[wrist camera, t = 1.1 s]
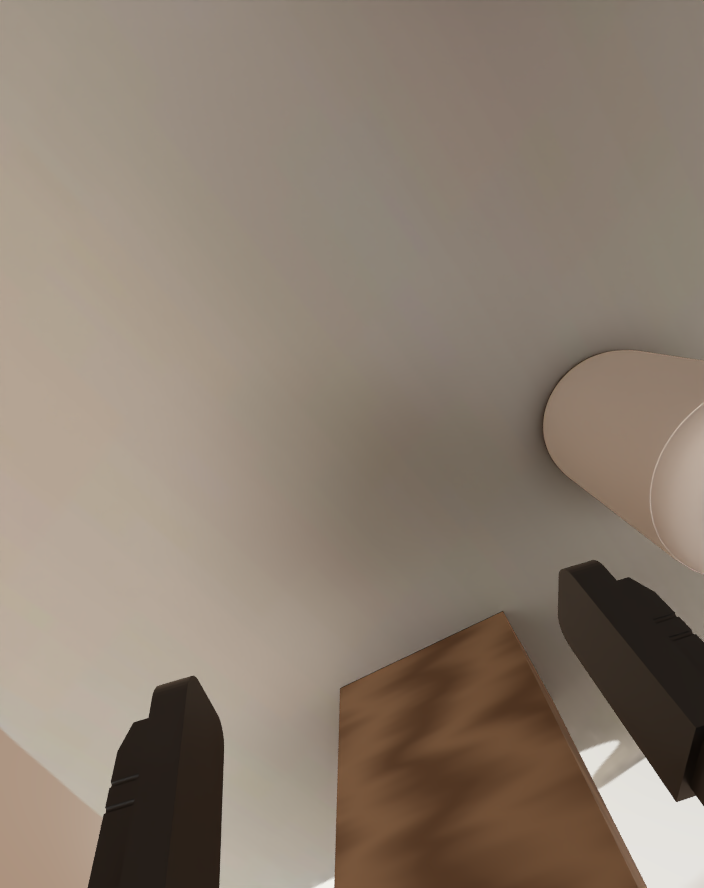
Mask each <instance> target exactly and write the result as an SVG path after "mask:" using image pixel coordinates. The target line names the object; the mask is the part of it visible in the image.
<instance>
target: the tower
mask: <svg viewBox="0 0 704 888" xmlns="http://www.w3.org/2000/svg"><path fill="white" fill-rule="evenodd" d="M334 888H647V887H646V885H645V883H644V881H643V879H642V877H641V875H640V873H639V871H638V869H637V867H636V865H635V863H634V861H633V859H632V857H631V855H630V853H629V851H628V849H627V847H626V845H625V843H624V841H623V839H622V837H621V835H620V833H619V831H618V829H617V827H616V825H615V823H614V821H613V819H612V817H611V815H610V813H609V811H608V809H607V808H606V805H605V803H604V801H603V799H602V797H601V795H600V793H599V792H598V789H597V787H596V785H595V783H594V781H593V780H592V778H591V776H590V774H589V772H588V770H587V768H586V766H585V764H584V762H583V760H582V758H581V756H580V754H579V752H578V750H577V748H576V746H575V744H574V742H573V740H572V738H571V736H570V734H569V732H568V730H567V728H566V726H565V724H564V722H563V720H562V718H561V716H560V714H559V712H558V710H557V708H556V706H555V704H554V702H553V700H552V699H551V697H550V695H549V693H548V691H547V690H546V688H545V686H544V684H543V682H542V681H541V679H540V677H539V675H538V673H537V672H536V670H535V668H534V666H533V664H532V663H531V661H530V659H529V657H528V655H527V654H526V652H525V650H524V648H523V647H522V645H521V643H520V641H519V639H518V638H517V636H516V634H515V632H514V630H513V629H512V627H511V625H510V623H509V621H508V620H507V618H506V616H505V614H504V612H500V613H498V614H496V615H494V616H492V617H490V618H488V619H486V620H484V621H482V622H479V623H477V624H475V625H473V626H471V627H469V628H467V629H465V630H463V631H460V632H458V633H456V634H454V635H452V636H450V637H448V638H446V639H444V640H441V641H439V642H437V643H435V644H433V645H431V646H429V647H427V648H425V649H422V650H420V651H418V652H416V653H414V654H412V655H410V656H408V657H406V658H404V659H401V660H399V661H397V662H395V663H393V664H391V665H389V666H387V667H385V668H382V669H380V670H378V671H376V672H374V673H372V674H370V675H368V676H366V677H363V678H361V679H359V680H357V681H355V682H353V683H351V684H349V685H347V686H344V687H342V688H340V714H339V749H338V783H337V818H336V852H335V887H334Z"/></svg>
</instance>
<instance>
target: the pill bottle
mask: <svg viewBox="0 0 704 888" xmlns="http://www.w3.org/2000/svg"><path fill="white" fill-rule="evenodd" d="M543 433H544V440H545V444H546V447H547V450H548V452H549V454H550V456H551V458H552V459H553V461H554V462H555V464H556V465H557V466H558V467H559V468H560V470H561V471H562V472H563V473H564V474H565V475H566V476H568V477H569V478H570V479H571V480H573V481H574V482H575V483H577V484H578V485H579V486H581V487H582V488H583V489H584V490H586V491H587V492H588V493H590V494H591V495H592V496H594V497H595V498H596V499H597V500H599V501H600V502H601V503H603V504H604V505H605V506H606V507H608V508H609V509H610V510H612V511H613V512H614V513H616V514H617V515H618V516H619V517H621V518H622V519H623V520H625V521H626V522H627V523H629V524H630V525H631V526H632V527H634V528H635V529H636V530H638V531H639V532H640V533H642V534H643V535H644V536H645V537H647V538H648V539H649V540H651V541H652V542H653V543H654V544H656V545H657V546H658V547H660V548H661V549H662V550H664V551H665V552H666V553H667V554H669V555H670V556H671V557H673V558H674V559H675V560H677V561H678V562H680V563H681V564H683V565H684V566H686V567H688V568H689V569H691V570H693V571H695V572H698V573H700V574H703V575H704V361H702V360H696V359H689V358H683V357H676V356H670V355H663V354H656V353H650V352H643V351H636V350H618V351H610V352H605V353H601V354H598V355H595V356H593V357H591V358H588V359H586V360H585V361H583V362H581V363H580V364H578V365H577V366H575V367H574V368H573V369H571V370H570V371H569V372H568V373H567V374H566V375H565V376H564V377H563V378H562V379H561V380H560V382H559V383H558V384H557V386H556V387H555V389H554V390H553V392H552V394H551V396H550V398H549V400H548V403H547V406H546V409H545V413H544V420H543Z"/></svg>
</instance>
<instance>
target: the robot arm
mask: <svg viewBox="0 0 704 888" xmlns="http://www.w3.org/2000/svg"><path fill="white" fill-rule="evenodd" d="M558 619H559V624H560V627H561V630H562V633H563V635H564V637H565V639H566V641H567V643H568V644H569V646H570V647H571V649H572V650H573V652H574V653H575V655H576V656H577V658H578V659H579V661H580V662H581V663H582V665H583V666H584V668H585V669H586V671H587V672H588V674H589V675H590V677H591V678H592V679H593V681H594V682H595V684H596V685H597V687H598V688H599V690H600V691H601V693H602V694H603V696H604V697H605V698H606V700H607V701H608V703H609V704H610V706H611V707H612V709H613V710H614V712H615V713H616V715H617V716H618V717H619V719H620V720H621V722H622V723H623V725H624V726H625V728H626V729H627V731H628V732H629V734H630V735H631V736H632V738H633V739H634V741H635V742H636V744H637V745H638V747H639V748H640V750H641V751H642V752H643V754H644V755H645V757H646V758H647V760H648V761H649V763H650V764H651V765H652V767H653V768H654V770H655V771H656V773H657V774H658V776H659V777H660V779H661V780H662V782H663V783H664V785H665V786H666V788H667V789H668V790H669V792H670V793H671V795H672V796H673V798H674V799H675V801H676V802H678V801H681V800H684V799H687V798H690V797H693V796H697V797H698V799H699V800H700V802H701V803H702V804H703V806H704V642H703V641H702V640H701V639H700V638H699V637H698V636H697V635H696V634H695V635H694V634H693V633H692V630H691V629H690V628H689V627H688V626H687V625H686V624H685V623H684V622H683V621H682V620H681V618H680V617H676V615H675V612H674V611H673V610H672V609H671V608H670V607H669V606H668V605H667V604H666V603H665V602H664V601H663V600H662V599H661V598H660V597H659V596H658V595H657V594H656V593H655V592H654V591H652V590H650V589H648V588H647V587H645V586H643V585H641V584H640V583H638V582H636V581H634V580H633V579H631V578H629V577H628V578H625V579H621V580H618V581H617V580H616V579H615V578H614V577H613V576H612V575H611V574H610V573H609V571H608V570H607V569H606V568H605V567H604V566H603V565H602V564H601V563H600V562H598V561H596V560H592V561H588V562H585V563H581V564H578V565H575V566H571V567H568V568H564V569H562V570H560V572H559V592H558ZM223 764H224V738H223V731H222V726H221V722H220V719H219V717H218V715H217V713H216V711H215V709H214V707H213V706H212V704H211V702H210V700H209V699H208V697H207V695H206V693H205V691H204V690H203V688H202V686H201V684H200V683H199V681H198V679H197V678H196V677H195V676H190V677H187V678H183V679H180V680H177V681H173V682H170V683H166V684H163V685H159V686H157V687H156V688H155V690H154V693H153V696H152V701H151V707H150V713H149V718H147V719H144V720H140V721H137V722H134V723H133V724H132V726H131V728H130V730H129V732H128V734H127V735H126V737H125V739H124V741H123V743H122V744H121V746H120V748H119V750H118V752H117V756H116V761H115V766H114V770H113V775H112V779H111V783H112V786H111V788H109V793H108V798H107V802H106V807H105V808H106V813H105V814H104V816H103V820H102V825H101V830H100V834H99V839H98V843H97V848H96V852H95V857H94V862H93V866H92V871H91V876H90V880H89V884H88V888H219V878H220V849H221V821H222V793H223Z"/></svg>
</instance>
